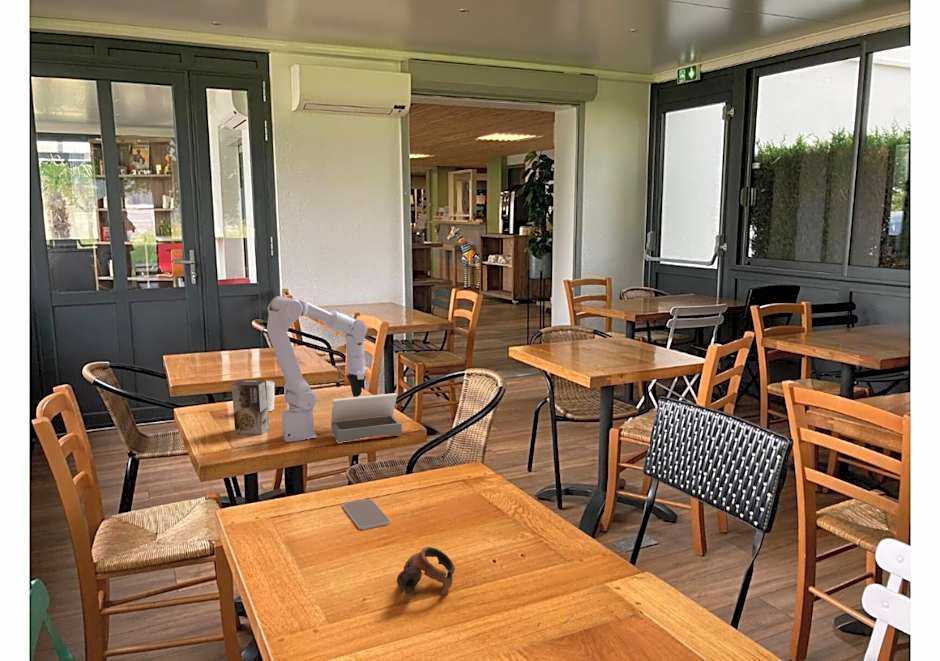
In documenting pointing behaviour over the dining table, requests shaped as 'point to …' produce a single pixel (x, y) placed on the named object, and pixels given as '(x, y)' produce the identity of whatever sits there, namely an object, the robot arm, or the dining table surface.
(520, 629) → the dining table surface
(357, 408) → the duct lid
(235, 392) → the coffee box
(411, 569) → the brown looped part
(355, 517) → the smartphone
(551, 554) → the dining table surface
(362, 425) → the cable duct
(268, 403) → the white cup
